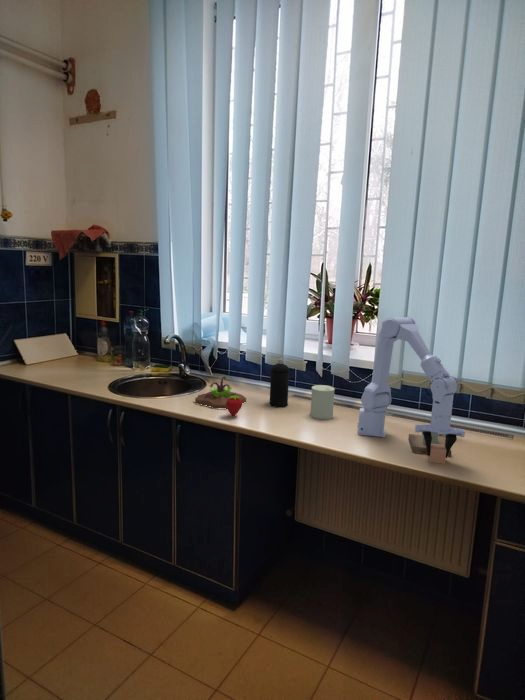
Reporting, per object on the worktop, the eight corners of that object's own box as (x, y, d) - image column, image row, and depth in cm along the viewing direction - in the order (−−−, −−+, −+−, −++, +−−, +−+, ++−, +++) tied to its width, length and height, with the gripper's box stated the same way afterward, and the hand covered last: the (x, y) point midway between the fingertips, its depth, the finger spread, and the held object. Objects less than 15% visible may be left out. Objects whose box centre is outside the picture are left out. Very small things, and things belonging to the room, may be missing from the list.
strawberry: (245, 415, 187) (246, 390, 186) (235, 420, 181) (236, 395, 179) (232, 412, 190) (232, 388, 188) (222, 417, 183) (222, 392, 182)
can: (321, 421, 184) (323, 391, 182) (305, 414, 191) (306, 385, 189) (337, 416, 190) (339, 387, 188) (321, 410, 197) (322, 382, 195)
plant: (253, 402, 206) (254, 377, 204) (224, 412, 191) (225, 385, 189) (219, 393, 218) (219, 369, 216) (188, 402, 202) (189, 376, 200)
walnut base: (411, 452, 157) (412, 446, 156) (408, 439, 168) (408, 433, 168) (450, 456, 154) (451, 450, 154) (444, 443, 166) (444, 437, 165)
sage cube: (422, 443, 159) (424, 430, 158) (421, 438, 163) (422, 426, 163) (437, 445, 158) (438, 432, 157) (435, 440, 162) (436, 427, 162)
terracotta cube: (429, 461, 149) (431, 448, 148) (427, 456, 153) (429, 443, 153) (444, 463, 148) (446, 449, 147) (442, 458, 153) (444, 444, 152)
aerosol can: (287, 408, 198) (289, 361, 195) (267, 406, 200) (269, 360, 196) (289, 402, 206) (291, 357, 203) (270, 401, 208) (272, 356, 204)
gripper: (418, 416, 146) (414, 457, 148) (468, 420, 143) (463, 463, 145) (416, 409, 152) (411, 449, 155) (464, 413, 150) (459, 454, 152)
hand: (436, 455), depth 151 cm, fingers closed on terracotta cube, 4 cm apart
